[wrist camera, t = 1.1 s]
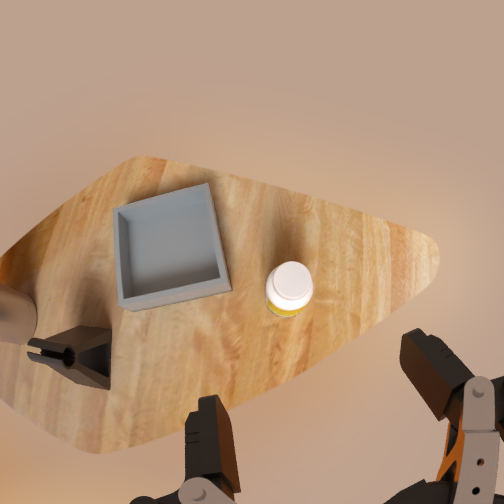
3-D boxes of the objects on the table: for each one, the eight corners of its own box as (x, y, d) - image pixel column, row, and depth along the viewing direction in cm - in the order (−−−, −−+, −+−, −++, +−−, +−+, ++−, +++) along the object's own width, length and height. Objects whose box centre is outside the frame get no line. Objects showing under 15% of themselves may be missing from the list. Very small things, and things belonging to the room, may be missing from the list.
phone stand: (80, 326, 39) (30, 311, 28) (112, 329, 39) (64, 316, 28) (77, 383, 36) (26, 384, 25) (110, 390, 36) (61, 395, 25)
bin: (132, 312, 40) (118, 306, 36) (125, 221, 45) (113, 208, 41) (232, 290, 40) (228, 282, 36) (213, 198, 45) (208, 182, 41)
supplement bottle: (309, 314, 39) (323, 300, 30) (269, 322, 39) (270, 310, 30) (301, 275, 41) (311, 250, 31) (262, 282, 41) (260, 259, 31)
